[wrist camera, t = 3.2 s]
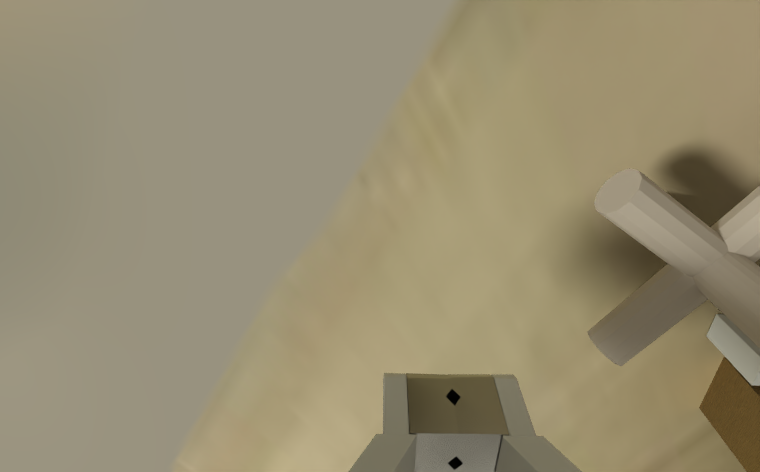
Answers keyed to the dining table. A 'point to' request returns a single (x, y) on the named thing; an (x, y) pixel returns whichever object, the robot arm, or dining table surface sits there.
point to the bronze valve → (735, 414)
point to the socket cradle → (736, 348)
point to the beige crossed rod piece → (679, 264)
